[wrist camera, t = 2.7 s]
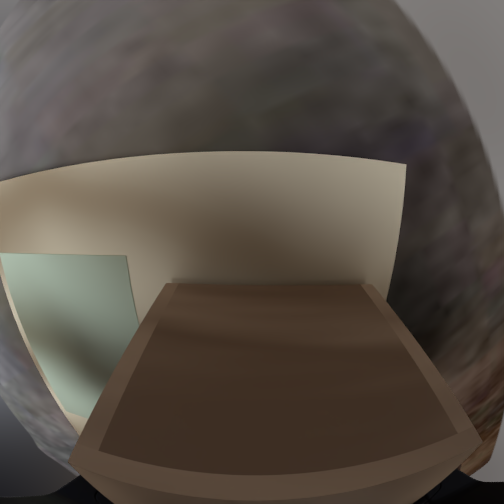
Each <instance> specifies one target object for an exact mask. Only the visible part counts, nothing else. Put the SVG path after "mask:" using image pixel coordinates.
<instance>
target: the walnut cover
mask: <svg viewBox="0 0 504 504" xmlns="http://www.w3.org/2000/svg"><path fill="white" fill-rule="evenodd" d="M481 443H482V440H481V438H480V436H479V435H478V433H477V431H476V429H475V428H474V426H473V424H472V423H471V421H470V419H469V418H468V416H467V414H466V413H465V411H464V410H463V408H462V406H461V405H460V403H459V402H458V400H457V399H456V397H455V395H454V394H453V392H452V391H451V389H450V388H449V386H448V385H447V383H446V382H445V380H444V379H443V377H442V376H441V374H440V373H439V372H438V370H437V369H436V367H435V366H434V364H433V363H432V362H431V360H430V359H429V357H428V356H427V355H426V353H425V352H424V350H423V349H422V348H421V346H420V345H419V344H418V342H417V341H416V339H415V338H414V337H413V335H412V334H411V333H410V331H409V330H408V329H407V327H406V326H405V325H404V324H403V322H402V321H401V320H400V318H399V317H398V316H397V315H396V313H395V312H394V311H393V309H392V308H391V307H390V306H389V304H388V303H387V302H386V301H385V299H384V298H383V297H382V296H381V294H380V293H379V292H378V291H377V290H376V288H375V287H374V286H373V285H372V284H357V285H222V284H185V283H166V284H165V285H164V287H163V288H162V290H161V292H160V293H159V295H158V296H157V298H156V300H155V301H154V303H153V304H152V306H151V308H150V309H149V311H148V313H147V314H146V316H145V317H144V319H143V321H142V322H141V324H140V326H139V328H138V329H137V331H136V333H135V334H134V336H133V338H132V339H131V341H130V343H129V345H128V346H127V348H126V350H125V352H124V353H123V355H122V357H121V359H120V360H119V362H118V364H117V366H116V367H115V369H114V371H113V373H112V375H111V377H110V378H109V380H108V382H107V384H106V386H105V388H104V389H103V391H102V393H101V395H100V397H99V399H98V401H97V403H96V405H95V407H94V409H93V411H92V412H91V414H90V416H89V418H88V420H87V422H86V424H85V426H84V428H83V431H82V433H81V435H80V437H79V439H78V441H77V443H76V445H75V447H74V449H73V452H72V454H71V456H70V458H69V460H68V463H69V464H70V465H71V466H72V467H73V468H74V469H75V470H76V471H77V472H78V473H79V474H80V475H81V476H82V477H83V478H85V479H86V480H87V481H88V482H89V483H90V484H91V485H92V486H93V487H95V488H96V489H97V490H98V491H99V492H100V493H102V494H103V495H104V496H105V497H106V498H108V499H109V500H110V501H111V502H113V503H114V504H413V503H414V502H416V501H417V500H418V499H420V498H421V497H422V496H424V495H425V494H426V493H428V492H429V491H430V490H431V489H433V488H434V487H435V486H436V485H438V484H439V483H440V482H441V481H442V480H444V479H445V478H446V477H447V476H448V475H449V474H450V473H452V472H453V471H454V470H455V469H456V468H457V467H458V466H459V465H460V464H461V463H462V462H463V461H464V460H465V459H466V458H467V457H468V456H469V455H470V454H471V453H472V452H473V451H474V450H475V449H476V448H477V447H478V446H479V445H480V444H481Z"/></svg>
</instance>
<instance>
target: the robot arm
mask: <svg viewBox="0 0 504 504" xmlns="http://www.w3.org/2000/svg"><path fill="white" fill-rule="evenodd" d="M0 504H114V503H113V502H111V501H110V500H109V499H108V498H106V497H105V496H104V495H103V494H102V493H100V492H99V491H98V490H97V489H96V488H95V487H93V486H92V485H91V484H90V483H89V482H88V481H87V480H86V479H85V478H83V477H82V476H81V475H79V476H78V477H77V478H75V479H74V480H72V481H71V482H69V483H68V484H66V485H64V486H63V487H61V488H60V489H58V490H57V491H55V492H52V493H50V494H46V495H41V496H27V497H0ZM413 504H504V482H482V481H478V480H475V479H473V478H471V477H470V476H468V475H466V474H465V473H463V472H461V471H460V470H458V469H457V468H456V469H455V470H454V471H453V472H452V473H450V474H449V475H448V476H447V477H446V478H445V479H444V480H442V481H441V482H440V483H439V484H438V485H436V486H435V487H434V488H433V489H431V490H430V491H429V492H428V493H426V494H425V495H424V496H422V497H421V498H420V499H418V500H417V501H416V502H414V503H413Z"/></svg>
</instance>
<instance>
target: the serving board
mask: <svg viewBox="0 0 504 504" xmlns="http://www.w3.org/2000/svg"><path fill="white" fill-rule="evenodd" d="M405 177H406V164H400V163H394V162H387V161H380V160H372V159H364V158H356V157H346V156H336V155H324V154H311V153H294V152H267V151H215V152H188V153H171V154H158V155H146V156H136V157H127V158H119V159H111V160H103V161H96V162H90V163H83V164H77V165H72V166H66V167H61V168H56V169H51V170H46V171H41V172H37V173H32V174H28V175H24V176H20V177H16V178H12V179H8V180H5V181H1V182H0V275H1V278H2V282H3V285H4V288H5V292H6V295H7V298H8V301H9V304H10V307H11V309H12V312H13V315H14V317H15V320H16V323H17V325H18V328H19V330H20V332H21V335H22V337H23V339H24V342H25V344H26V346H27V348H28V350H29V353H30V355H31V357H32V359H33V361H34V363H35V365H36V367H37V369H38V371H39V372H40V374H41V376H42V378H43V380H44V382H45V383H46V385H47V387H48V389H49V390H50V392H51V394H52V395H53V397H54V399H55V400H56V402H57V404H58V405H59V407H60V408H61V410H62V411H63V413H64V414H65V416H66V417H67V419H68V420H69V422H70V423H71V425H72V426H73V427H74V429H75V430H76V432H77V433H78V434H79V436H80V435H81V433H82V431H83V428H84V426H85V424H86V422H87V420H88V418H89V416H90V414H91V412H92V411H93V409H94V407H95V405H96V403H97V401H98V399H99V397H100V395H101V393H102V391H103V389H104V388H105V386H106V384H107V382H108V380H109V378H110V377H111V375H112V373H113V371H114V369H115V367H116V366H117V364H118V362H119V360H120V359H121V357H122V355H123V353H124V352H125V350H126V348H127V346H128V345H129V343H130V341H131V339H132V338H133V336H134V334H135V333H136V331H137V329H138V328H139V326H140V324H141V322H142V321H143V319H144V317H145V316H146V314H147V313H148V311H149V309H150V308H151V306H152V304H153V303H154V301H155V300H156V298H157V296H158V295H159V293H160V292H161V290H162V288H163V287H164V285H165V284H166V283H185V284H222V285H357V284H372V285H373V286H374V287H375V288H376V290H377V291H378V292H379V293H380V294H381V296H382V297H383V298H384V299H385V301H386V299H387V294H388V290H389V286H390V281H391V276H392V271H393V266H394V261H395V256H396V250H397V244H398V238H399V232H400V225H401V217H402V209H403V200H404V190H405Z"/></svg>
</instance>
